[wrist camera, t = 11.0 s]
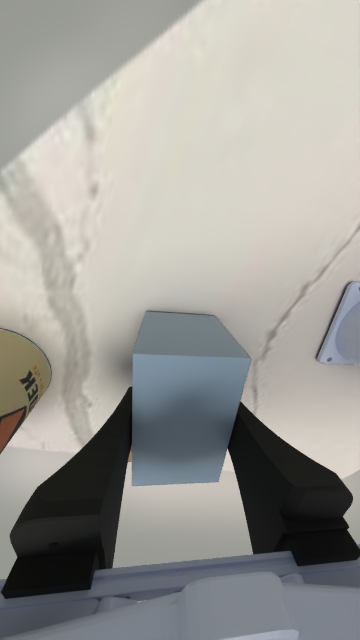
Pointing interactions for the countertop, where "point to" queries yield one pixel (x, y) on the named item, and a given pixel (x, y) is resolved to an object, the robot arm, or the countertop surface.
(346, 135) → the countertop surface
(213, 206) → the countertop surface
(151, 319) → the blue-grey rectangular block
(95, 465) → the robot arm
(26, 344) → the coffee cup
